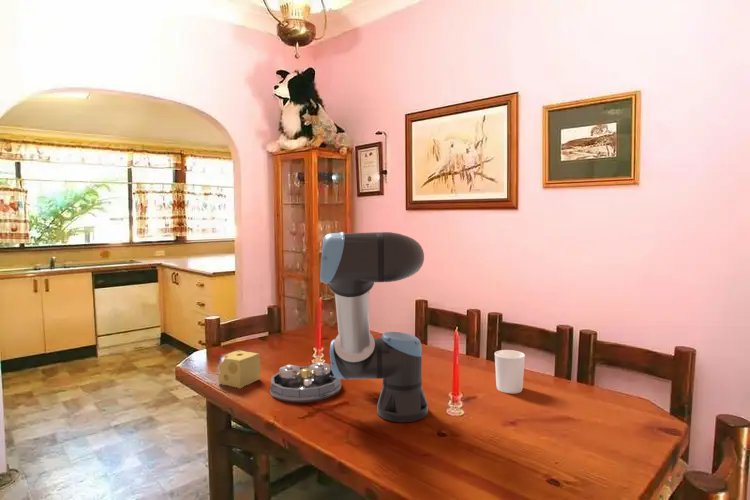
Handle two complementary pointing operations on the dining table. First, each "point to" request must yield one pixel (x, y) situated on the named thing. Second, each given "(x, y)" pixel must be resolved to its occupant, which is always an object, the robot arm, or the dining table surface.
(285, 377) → the carrier
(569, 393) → the dining table surface
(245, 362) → the cheese
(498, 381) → the white tapered cup
